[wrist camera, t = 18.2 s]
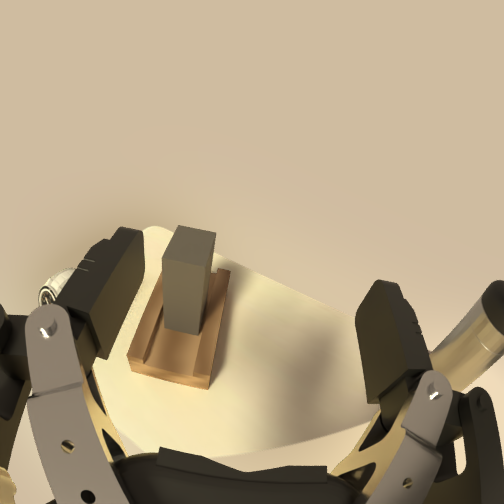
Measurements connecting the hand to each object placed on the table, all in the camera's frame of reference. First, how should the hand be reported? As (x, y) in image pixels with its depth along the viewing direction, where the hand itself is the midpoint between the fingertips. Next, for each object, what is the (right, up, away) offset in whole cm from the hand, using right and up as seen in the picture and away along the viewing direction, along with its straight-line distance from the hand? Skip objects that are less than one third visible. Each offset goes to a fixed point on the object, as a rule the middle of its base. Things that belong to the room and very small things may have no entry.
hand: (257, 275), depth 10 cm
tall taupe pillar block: (-9, -8, +28) cm, 31 cm away
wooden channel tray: (-10, -10, +30) cm, 33 cm away
